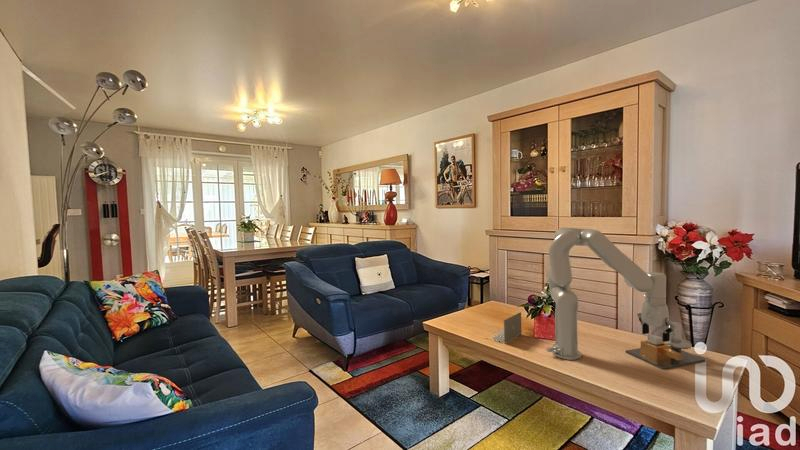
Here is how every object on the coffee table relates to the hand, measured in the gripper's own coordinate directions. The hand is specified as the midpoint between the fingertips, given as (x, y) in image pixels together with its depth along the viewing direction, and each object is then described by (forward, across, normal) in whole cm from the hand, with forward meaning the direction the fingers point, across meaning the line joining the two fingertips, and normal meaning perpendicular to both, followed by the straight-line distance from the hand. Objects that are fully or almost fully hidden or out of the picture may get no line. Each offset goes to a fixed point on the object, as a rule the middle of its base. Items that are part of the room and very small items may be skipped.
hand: (655, 337), depth 157 cm
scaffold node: (+10, +1, +5) cm, 11 cm away
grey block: (+9, 0, 0) cm, 9 cm away
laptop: (+10, -46, -50) cm, 69 cm away
